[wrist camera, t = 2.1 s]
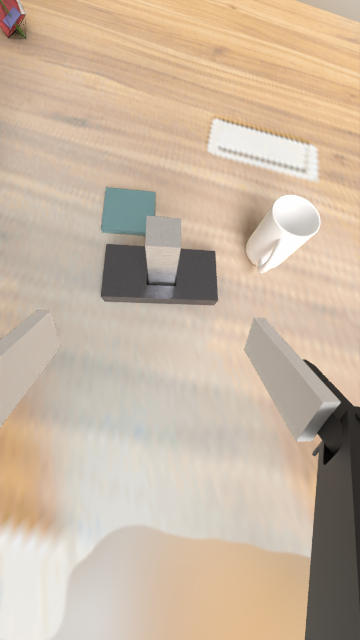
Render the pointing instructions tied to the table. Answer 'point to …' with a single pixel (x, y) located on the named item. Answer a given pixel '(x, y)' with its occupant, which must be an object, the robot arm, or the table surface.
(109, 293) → the block
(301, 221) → the mug
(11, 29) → the geometric puzzle
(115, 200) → the teal mat
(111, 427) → the table surface
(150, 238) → the steel peg
